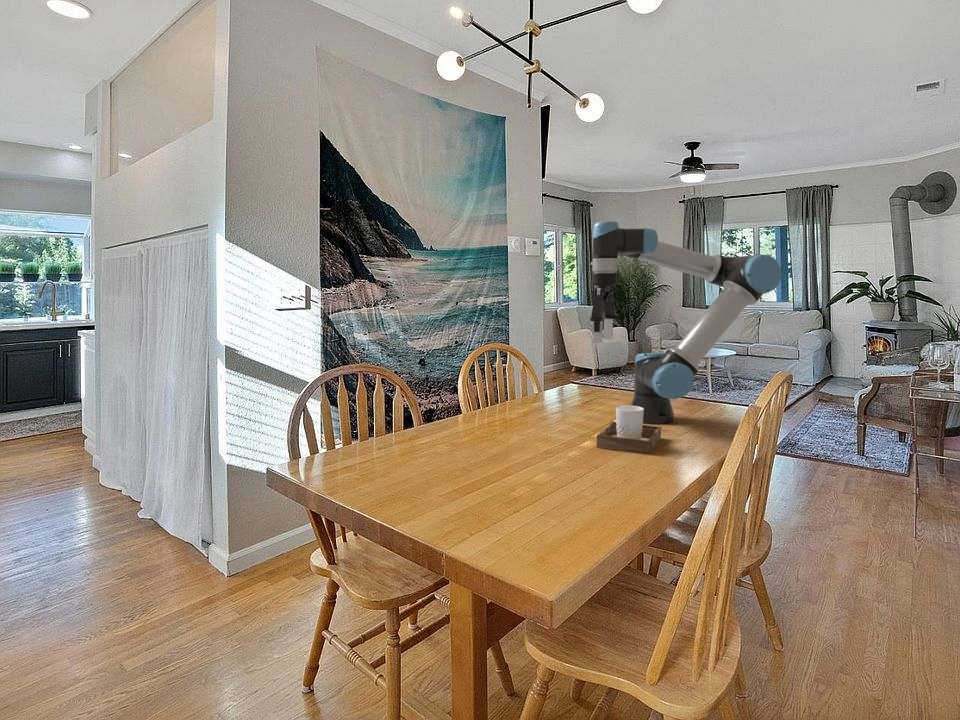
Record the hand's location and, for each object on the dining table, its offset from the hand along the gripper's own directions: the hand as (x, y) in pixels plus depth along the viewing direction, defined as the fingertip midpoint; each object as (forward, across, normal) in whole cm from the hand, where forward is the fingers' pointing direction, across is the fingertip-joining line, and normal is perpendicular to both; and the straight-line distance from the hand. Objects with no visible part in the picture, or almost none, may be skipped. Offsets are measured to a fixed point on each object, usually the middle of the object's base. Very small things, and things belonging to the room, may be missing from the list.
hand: (602, 340), depth 179 cm
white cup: (+28, +13, +12) cm, 33 cm away
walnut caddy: (+29, +12, +12) cm, 33 cm away
